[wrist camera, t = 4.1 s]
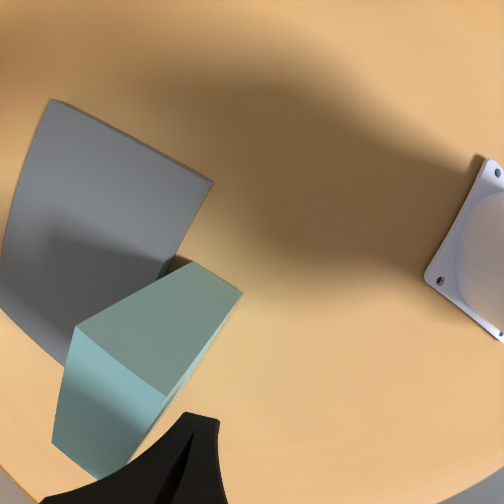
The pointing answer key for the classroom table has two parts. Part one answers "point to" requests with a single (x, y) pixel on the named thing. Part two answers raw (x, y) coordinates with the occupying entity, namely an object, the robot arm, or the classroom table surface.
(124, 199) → the rubber pad
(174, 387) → the teal slab
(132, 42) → the classroom table surface
